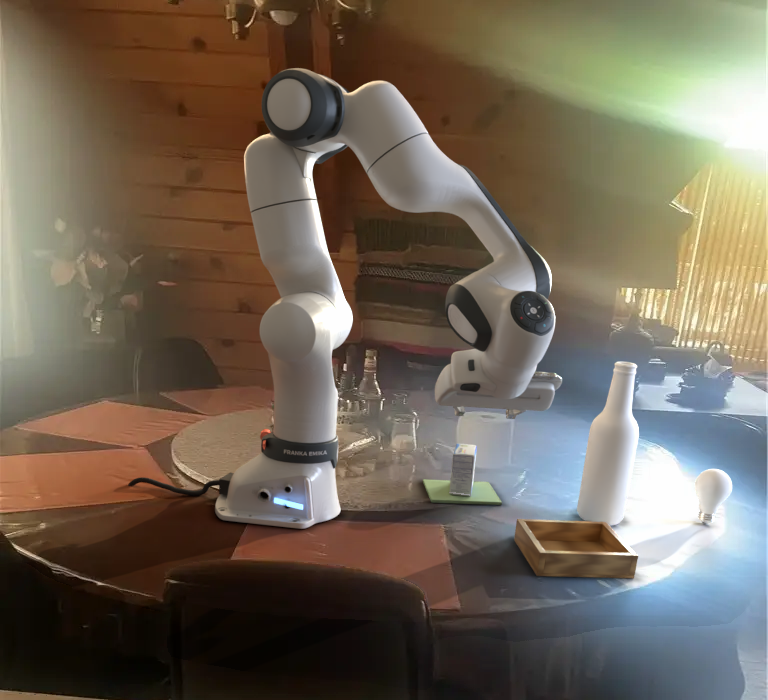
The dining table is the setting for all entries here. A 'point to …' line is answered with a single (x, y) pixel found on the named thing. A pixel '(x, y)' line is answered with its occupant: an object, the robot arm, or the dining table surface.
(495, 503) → the mat
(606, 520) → the alcohol
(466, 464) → the medicine box
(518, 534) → the tray
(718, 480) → the light bulb
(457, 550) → the dining table surface
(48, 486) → the dining table surface
